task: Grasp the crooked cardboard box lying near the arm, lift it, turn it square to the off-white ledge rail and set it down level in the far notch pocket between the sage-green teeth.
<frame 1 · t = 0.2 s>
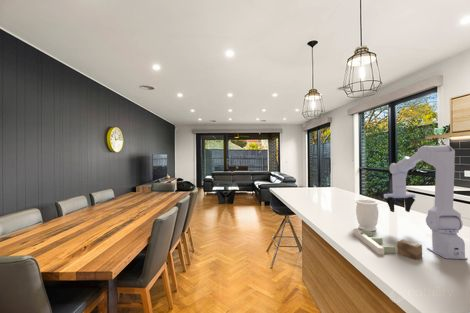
hand: (399, 211, 115), 10 cm above the table, fingers open, 7 cm apart
jar: (367, 229, 119), on the table
cardboard box: (409, 255, 87), on the table
ledge: (379, 243, 99), on the table
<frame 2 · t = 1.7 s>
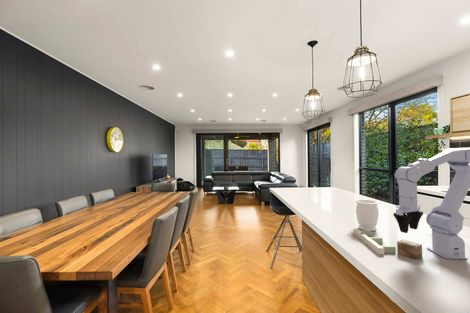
hand: (408, 230, 87), 10 cm above the table, fingers open, 7 cm apart
nothing on the table moved.
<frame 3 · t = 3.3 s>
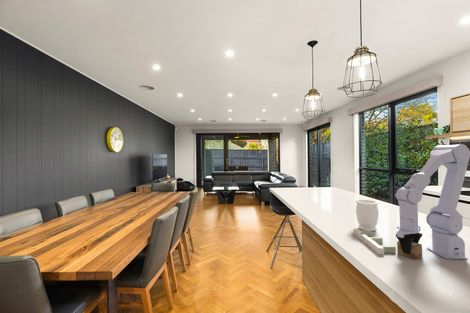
hand: (409, 251, 87), 1 cm above the table, fingers closed on cardboard box, 4 cm apart
cardboard box: (409, 255, 87), on the table, touching gripper
everything else where it was.
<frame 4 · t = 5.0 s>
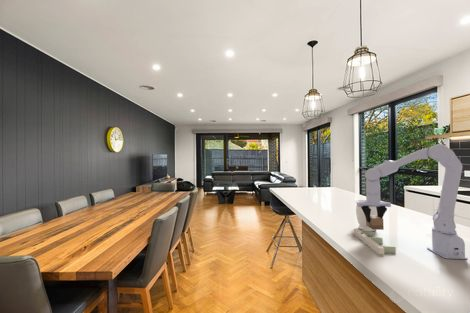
hand: (373, 221, 104), 8 cm above the table, fingers closed on cardboard box, 4 cm apart
cardboard box: (374, 227, 103), point 6 cm above the table, touching gripper
everything else where it was.
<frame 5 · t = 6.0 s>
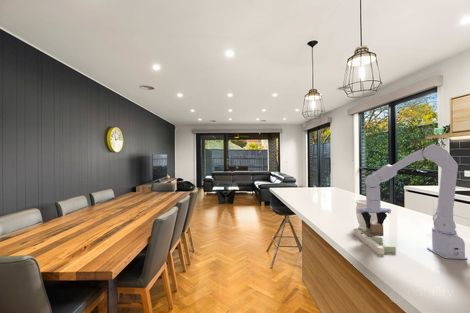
hand: (373, 227, 104), 5 cm above the table, fingers closed on cardboard box, 4 cm apart
cardboard box: (374, 233, 103), point 3 cm above the table, touching gripper
everything else where it was.
when the fingers open (3 cm above the table, at t = 6.8 s): cardboard box stays where it is, on the table.
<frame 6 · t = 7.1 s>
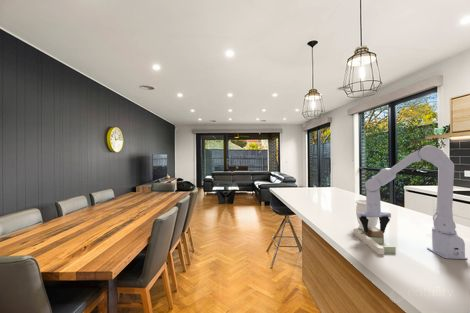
hand: (374, 232, 104), 3 cm above the table, fingers open, 7 cm apart
cardboard box: (374, 239, 103), on the table
everything else where it was.
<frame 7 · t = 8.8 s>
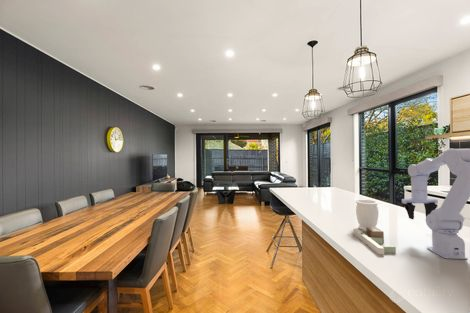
hand: (419, 218, 102), 10 cm above the table, fingers open, 7 cm apart
nothing on the table moved.
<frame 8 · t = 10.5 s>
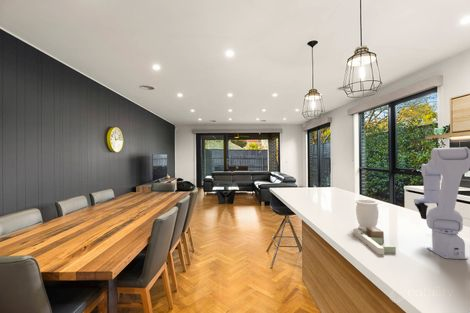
hand: (432, 218, 101), 10 cm above the table, fingers open, 7 cm apart
nothing on the table moved.
at the end: cardboard box inside the target area (0.4 cm from its centre), on the table; cardboard box tilted 0°; the gripper is holding nothing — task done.
